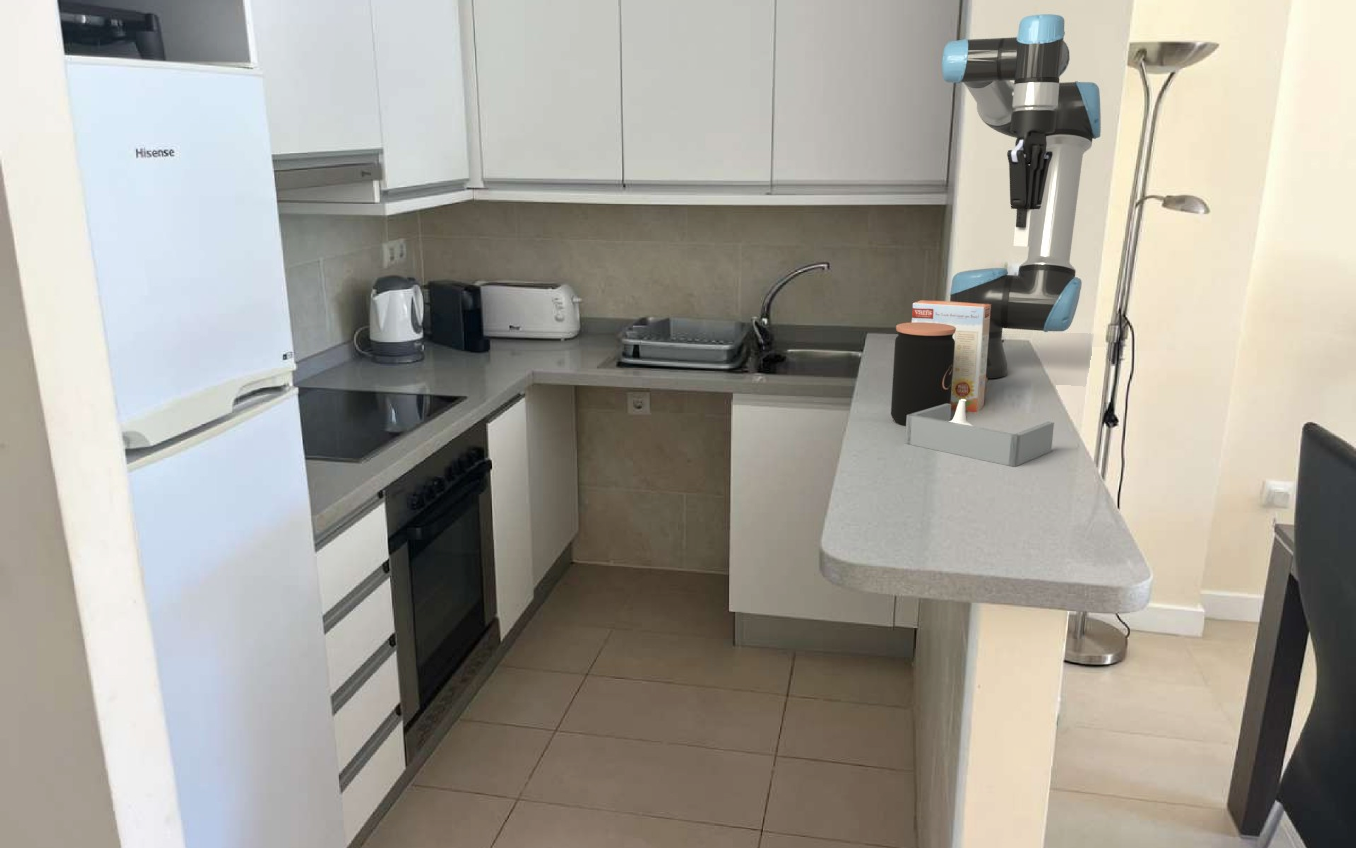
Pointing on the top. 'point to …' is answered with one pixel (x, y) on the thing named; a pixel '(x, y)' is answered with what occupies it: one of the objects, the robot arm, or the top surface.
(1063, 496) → the top surface
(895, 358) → the coffee jar
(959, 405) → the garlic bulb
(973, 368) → the cracker box
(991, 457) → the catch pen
